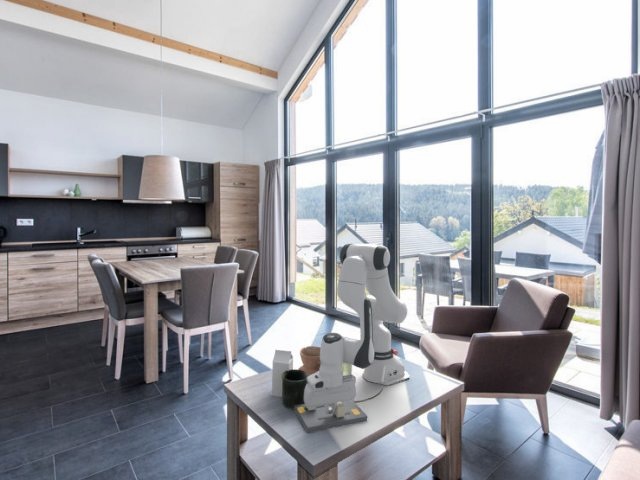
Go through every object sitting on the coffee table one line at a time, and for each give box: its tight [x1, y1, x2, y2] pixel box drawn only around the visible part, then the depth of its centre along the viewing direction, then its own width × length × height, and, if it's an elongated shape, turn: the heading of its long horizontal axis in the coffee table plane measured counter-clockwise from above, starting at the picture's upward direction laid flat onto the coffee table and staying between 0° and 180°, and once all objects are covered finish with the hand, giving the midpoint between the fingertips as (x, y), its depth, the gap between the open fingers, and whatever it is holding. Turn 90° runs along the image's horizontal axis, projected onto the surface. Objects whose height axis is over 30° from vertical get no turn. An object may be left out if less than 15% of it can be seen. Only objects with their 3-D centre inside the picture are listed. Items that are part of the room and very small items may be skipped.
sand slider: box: [334, 402, 345, 418], centre depth 143 cm, size 3×4×4 cm
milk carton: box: [271, 349, 294, 398], centre depth 162 cm, size 7×7×19 cm
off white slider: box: [306, 405, 316, 410], centre depth 147 cm, size 3×4×4 cm
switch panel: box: [293, 399, 368, 434], centre depth 146 cm, size 24×16×2 cm, turn 111°
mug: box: [281, 368, 308, 410], centre depth 155 cm, size 11×15×12 cm
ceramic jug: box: [297, 345, 321, 384], centre depth 175 cm, size 18×14×14 cm
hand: (329, 412), depth 142 cm, fingers closed
